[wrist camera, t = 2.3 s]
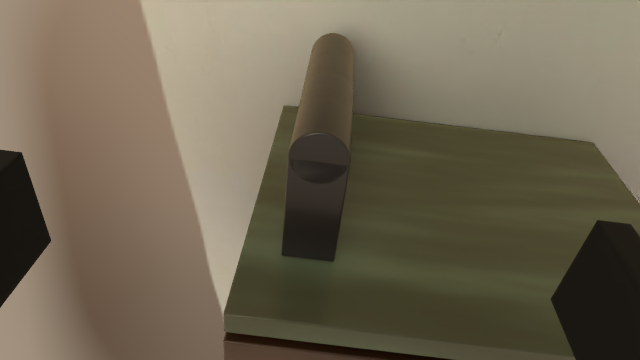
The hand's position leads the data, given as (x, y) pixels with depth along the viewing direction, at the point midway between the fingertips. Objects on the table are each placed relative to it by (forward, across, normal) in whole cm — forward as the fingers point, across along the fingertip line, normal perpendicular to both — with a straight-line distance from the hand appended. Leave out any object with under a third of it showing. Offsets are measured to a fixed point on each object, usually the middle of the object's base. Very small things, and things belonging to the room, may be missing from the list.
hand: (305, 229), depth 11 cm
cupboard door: (+16, +7, -3) cm, 17 cm away
